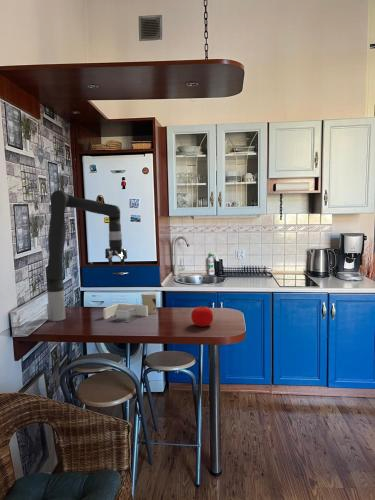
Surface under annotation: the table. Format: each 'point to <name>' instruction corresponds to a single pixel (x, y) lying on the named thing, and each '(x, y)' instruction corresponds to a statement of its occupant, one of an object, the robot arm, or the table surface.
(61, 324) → the table surface
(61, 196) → the robot arm
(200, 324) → the tomato
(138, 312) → the corner wall
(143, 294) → the coffee cup
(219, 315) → the table surface
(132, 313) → the bracket
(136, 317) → the mat
